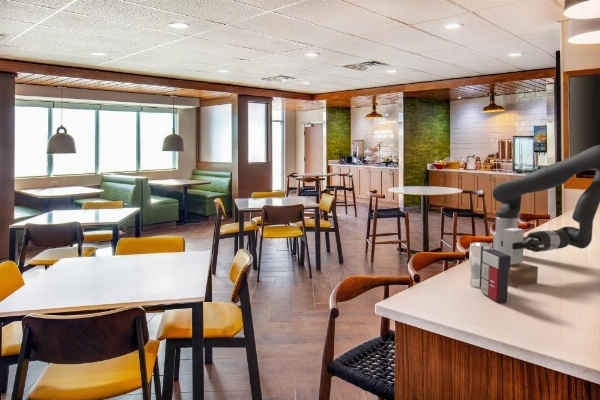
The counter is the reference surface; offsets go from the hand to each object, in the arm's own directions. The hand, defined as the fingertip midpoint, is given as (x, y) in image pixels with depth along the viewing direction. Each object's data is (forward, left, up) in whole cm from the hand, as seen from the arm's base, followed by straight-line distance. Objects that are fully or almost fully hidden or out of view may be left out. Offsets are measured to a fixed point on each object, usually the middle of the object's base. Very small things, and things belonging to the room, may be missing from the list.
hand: (507, 245), depth 166 cm
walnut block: (0, +3, -14) cm, 14 cm away
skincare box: (0, +3, -7) cm, 7 cm away
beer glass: (-1, -12, -14) cm, 19 cm away
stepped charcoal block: (+11, -18, -14) cm, 26 cm away
